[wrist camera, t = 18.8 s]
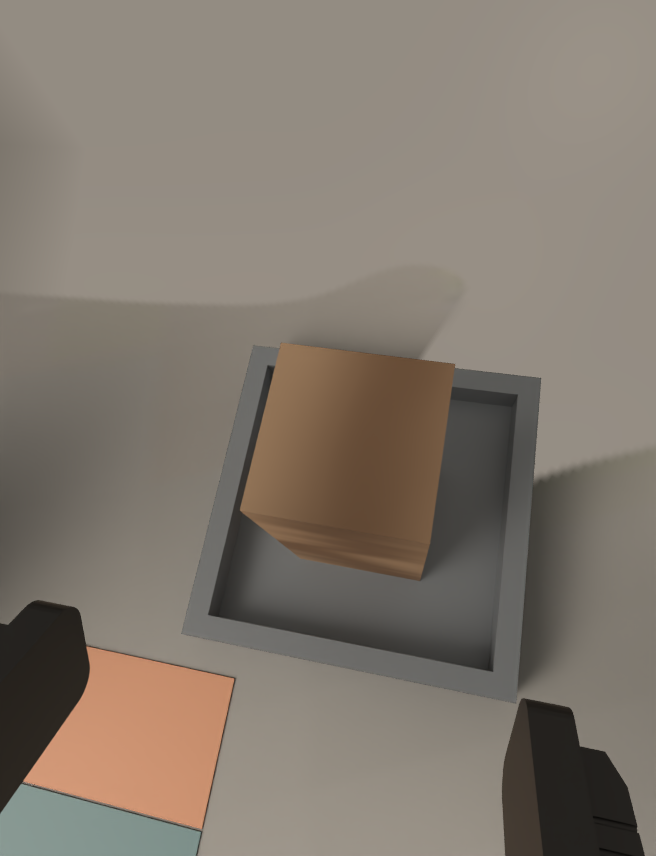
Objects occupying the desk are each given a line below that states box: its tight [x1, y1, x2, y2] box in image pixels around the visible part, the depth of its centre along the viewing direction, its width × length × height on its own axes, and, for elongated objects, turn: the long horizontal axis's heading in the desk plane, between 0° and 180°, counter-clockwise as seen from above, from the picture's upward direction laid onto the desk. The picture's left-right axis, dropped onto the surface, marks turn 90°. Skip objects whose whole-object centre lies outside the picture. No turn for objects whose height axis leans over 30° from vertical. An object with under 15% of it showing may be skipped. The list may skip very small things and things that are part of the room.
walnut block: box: [240, 343, 455, 581], centre depth 19 cm, size 5×5×9 cm
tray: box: [181, 345, 541, 703], centre depth 23 cm, size 12×12×2 cm
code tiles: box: [0, 646, 235, 856], centre depth 21 cm, size 10×10×1 cm
